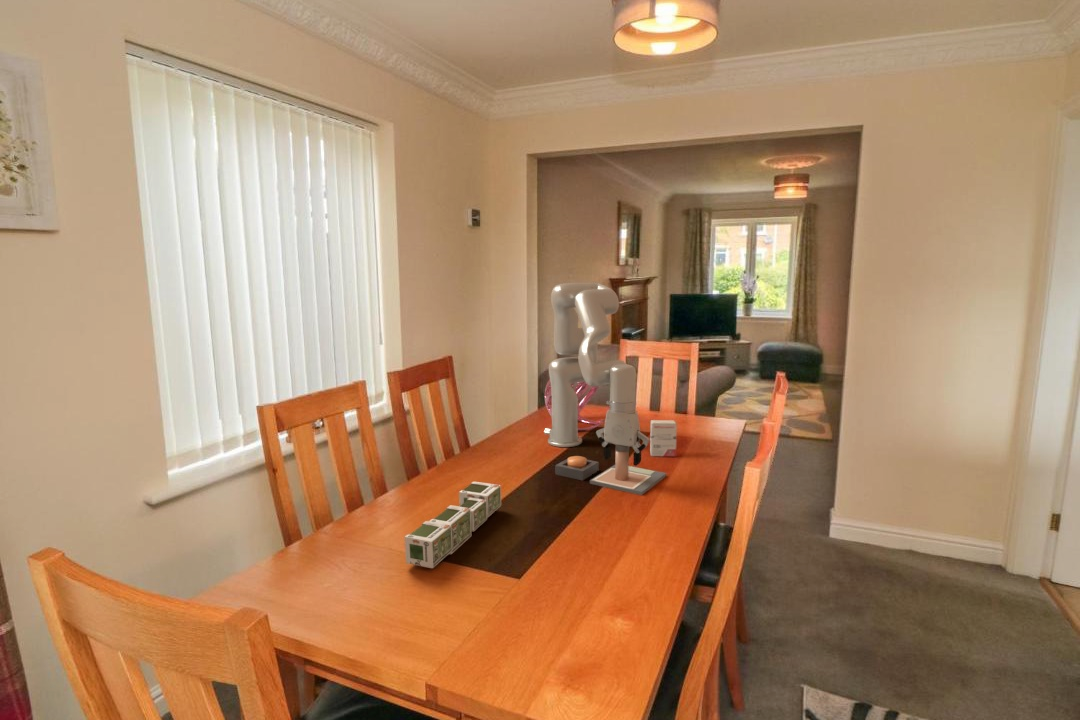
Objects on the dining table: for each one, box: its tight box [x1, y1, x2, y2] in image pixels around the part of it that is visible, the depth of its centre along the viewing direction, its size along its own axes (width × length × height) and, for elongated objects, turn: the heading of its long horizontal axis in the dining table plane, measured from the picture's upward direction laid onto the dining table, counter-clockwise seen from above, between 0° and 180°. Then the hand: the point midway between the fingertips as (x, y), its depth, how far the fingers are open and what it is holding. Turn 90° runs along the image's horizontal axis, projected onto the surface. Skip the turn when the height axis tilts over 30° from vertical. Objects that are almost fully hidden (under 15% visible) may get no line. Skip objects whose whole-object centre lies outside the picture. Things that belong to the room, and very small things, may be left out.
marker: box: [614, 444, 630, 481], centre depth 179 cm, size 4×4×12 cm
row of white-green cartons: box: [404, 481, 502, 569], centre depth 145 cm, size 35×8×7 cm, turn 158°
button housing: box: [554, 458, 600, 481], centre depth 188 cm, size 10×10×3 cm
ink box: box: [649, 419, 678, 457], centre depth 204 cm, size 9×5×12 cm, turn 84°
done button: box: [567, 455, 588, 469], centre depth 188 cm, size 6×6×2 cm
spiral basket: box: [544, 379, 605, 432], centre depth 238 cm, size 28×28×27 cm
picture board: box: [589, 464, 667, 496], centre depth 181 cm, size 17×18×1 cm
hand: (622, 461), depth 179 cm, fingers open, 9 cm apart
